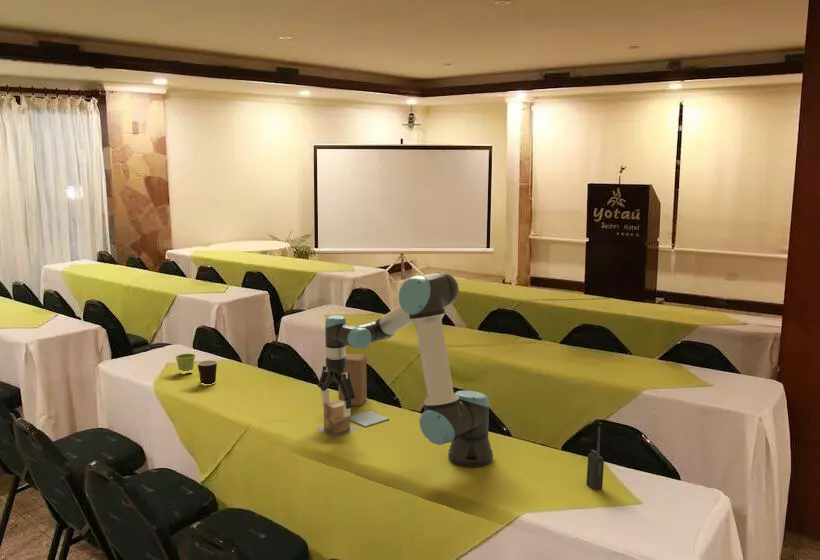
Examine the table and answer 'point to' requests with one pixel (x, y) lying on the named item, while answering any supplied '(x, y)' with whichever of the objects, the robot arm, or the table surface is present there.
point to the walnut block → (335, 417)
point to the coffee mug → (207, 371)
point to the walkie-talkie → (595, 467)
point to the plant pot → (185, 361)
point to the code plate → (336, 433)
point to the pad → (368, 418)
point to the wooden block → (356, 378)
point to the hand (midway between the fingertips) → (336, 411)
